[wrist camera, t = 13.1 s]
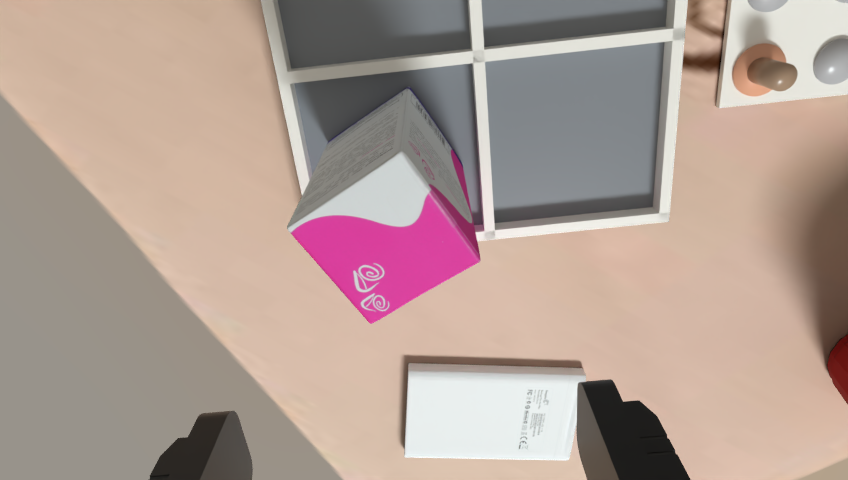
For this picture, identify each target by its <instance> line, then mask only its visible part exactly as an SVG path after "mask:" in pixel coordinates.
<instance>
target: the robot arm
mask: <svg viewBox="0 0 848 480" xmlns="http://www.w3.org/2000/svg"><path fill="white" fill-rule="evenodd" d="M577 442H578V449H579V454H580V458H581V461H582V464H583V467H584V471H585V474H586V477H587V480H690V478H689V476H688V474H687V472H686V470H685V468H684V466H683V465H682V463H681V461H680V459H679V457H678V455H676V453H675V449H674V448H673V446H672V444H671V442H670V440H669V439H668V438H667V434H666V432H665V430H664V429H663V427H662V425H661V423H660V421H659V419H658V417H657V416H656V415H655V414H654V413H653V412H652V411H650V410H649V409H648V408H647V407H646V406H645V405H644V404H642V403H641V402H640V401H628V402H623V401H622V399H621V397H620V394H619V392H618V390H617V388H616V386H615V384H614V382H613V381H612V380H599V381H587V382H579V383H578V387H577ZM150 480H252V460H251V456H250V453H249V449H248V446H247V443H246V440H245V437H244V433H243V431H242V427H241V424H240V421H239V418H238V415H237V414H236V412H235V411H225V412H213V413H203V414H201V415H200V416H199V417H198V418H197V420H196V422H195V424H194V426H193V428H192V430H191V432H190V434H189V436H188V437H187V438H178V439H177V440H176V441H175V442H174V443H173V444H172V445H171V446H170V447H169V448H168V449H167V450H166V451H165V452H164V453H163V454H162V455H161V456H160V458H159V460H158V461H157V464H156V465H155V467H154V469H153V471H152V473H151V475H150Z"/></svg>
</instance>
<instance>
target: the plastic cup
mask: <svg viewBox="0 0 848 480" xmlns="http://www.w3.org/2000/svg"><path fill="white" fill-rule="evenodd" d="M827 367H828V371H829V375H830V377H831V378H832V381H833V384H834V385H835V387H836V388H837V390H838V391H839V393H840V394H841V395H842V397H843V398H844V400H845V401H846V403H847V404H848V335H846V336H845V337H843V338H842V339H841V340H840V341H839V342H838V343H837V345H836V346H835V347H834V349H833V350H832V351H831V353H830V356H829V360H828V364H827Z"/></svg>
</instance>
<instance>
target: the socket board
mask: <svg viewBox="0 0 848 480" xmlns="http://www.w3.org/2000/svg"><path fill="white" fill-rule="evenodd" d="M687 3H688V0H261V4H262V9H263V14H264V18H265V23H266V28H267V33H268V37H269V42H270V47H271V52H272V56H273V61H274V66H275V71H276V75H277V80H278V85H279V89H280V94H281V99H282V104H283V108H284V113H285V118H286V123H287V127H288V132H289V137H290V142H291V146H292V151H293V156H294V161H295V165H296V170H297V175H298V179H299V184H300V189H301V194H302V195H303V193H304V191H305V189H306V187H307V185H308V183H309V181H310V179H311V177H312V175H313V172H314V171H315V169H316V167H317V165H318V163H319V161H320V158H321V156H322V154H323V152H324V150H325V148H326V146H327V143H328V141H330V140H331V139H332V138H334V137H335V136H337V135H338V134H339V133H341V132H342V131H344V130H345V129H347V128H348V127H350V126H351V125H353V124H354V123H355V122H357V121H358V120H360V119H361V118H363V117H364V116H366V115H367V114H368V113H370V112H371V111H373V110H374V109H376V108H377V107H379V106H380V105H382V104H383V103H385V102H386V101H388V100H389V99H390V98H392V97H393V96H395V95H396V94H398V93H399V92H400V91H402V90H404V89H405V88H407V87H408V86H410V87H411V89H412V90H413V92H414V93H415V94H416V96H417V97H418V99H419V100H420V101H421V103H422V104H423V106H424V107H425V109H426V110H427V111H428V113H429V114H430V116H431V117H432V119H433V120H434V122H435V123H436V125H437V126H438V127H439V129H440V130H441V132H442V133H443V135H444V136H445V138H446V139H447V141H448V142H449V144H450V145H451V147H452V148H453V150H454V151H455V153H456V154H457V156H458V158H459V159H460V161H461V163H462V165H463V170H464V175H465V180H466V185H467V191H468V197H469V202H470V207H471V212H472V217H473V222H474V227H475V232H476V238H477V241H485V240H494V239H504V238H514V237H524V236H534V235H544V234H553V233H563V232H573V231H583V230H593V229H602V228H612V227H622V226H632V225H642V224H651V223H661V222H669V215H670V203H671V191H672V180H673V168H674V156H675V144H676V133H677V121H678V109H679V97H680V86H681V74H682V62H683V50H684V39H685V27H686V15H687Z"/></svg>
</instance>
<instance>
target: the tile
mask: <svg viewBox="0 0 848 480" xmlns="http://www.w3.org/2000/svg"><path fill="white" fill-rule="evenodd" d="M846 94H848V0H728V4H727V13H726V22H725V31H724V39H723V48H722V57H721V66H720V75H719V84H718V93H717V101H716V107H718V108H726V107H735V106H744V105H754V104H763V103H772V102H781V101H791V100H800V99H809V98H819V97H828V96H837V95H846Z"/></svg>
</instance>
